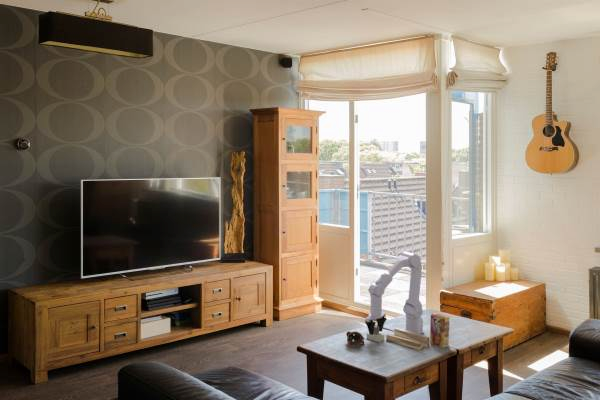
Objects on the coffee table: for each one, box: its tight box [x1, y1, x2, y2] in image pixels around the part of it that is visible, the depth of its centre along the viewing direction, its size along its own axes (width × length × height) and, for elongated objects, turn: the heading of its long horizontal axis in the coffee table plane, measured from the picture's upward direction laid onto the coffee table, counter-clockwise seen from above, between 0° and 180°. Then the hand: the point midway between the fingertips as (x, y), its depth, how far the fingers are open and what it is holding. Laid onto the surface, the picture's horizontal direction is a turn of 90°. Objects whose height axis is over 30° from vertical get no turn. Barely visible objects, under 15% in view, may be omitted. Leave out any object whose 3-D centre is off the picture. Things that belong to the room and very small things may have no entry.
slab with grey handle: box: [366, 325, 385, 343], centre depth 300 cm, size 4×8×7 cm, turn 44°
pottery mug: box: [346, 331, 365, 349], centre depth 290 cm, size 12×10×8 cm
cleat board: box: [385, 327, 430, 351], centre depth 294 cm, size 9×20×4 cm, turn 45°
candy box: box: [429, 312, 450, 349], centre depth 291 cm, size 9×4×15 cm, turn 39°
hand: (375, 332), depth 300 cm, fingers open, 7 cm apart
